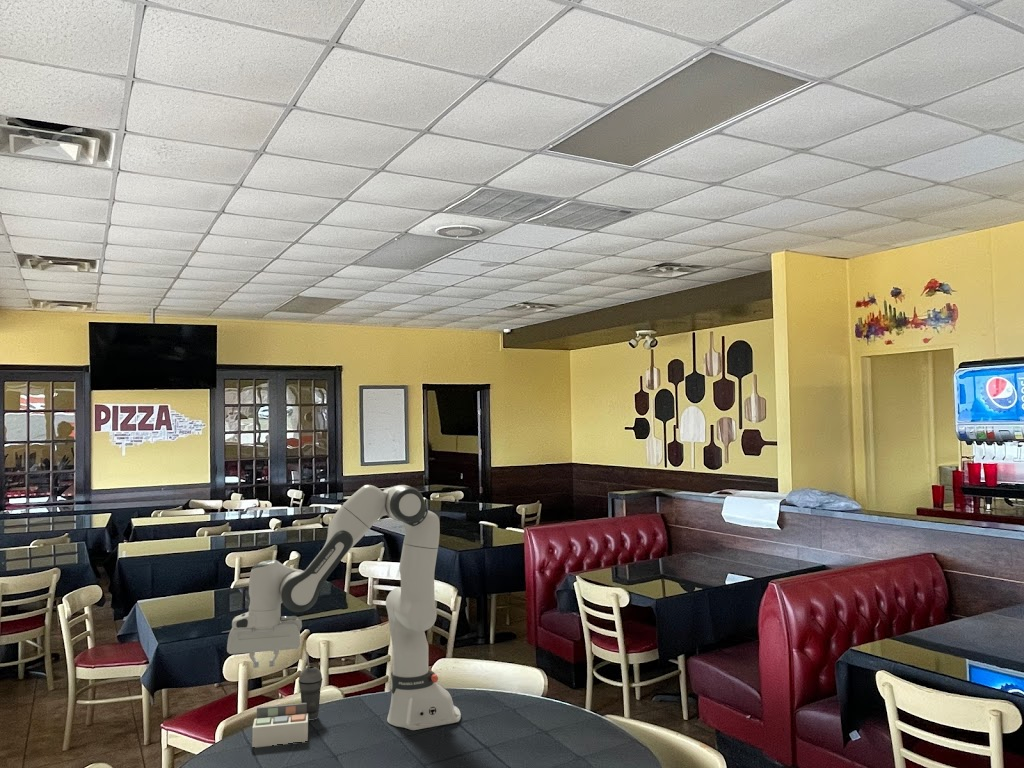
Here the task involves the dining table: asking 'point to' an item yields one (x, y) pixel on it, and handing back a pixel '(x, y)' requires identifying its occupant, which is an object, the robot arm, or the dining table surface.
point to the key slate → (281, 719)
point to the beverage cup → (310, 689)
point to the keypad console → (280, 726)
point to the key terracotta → (298, 718)
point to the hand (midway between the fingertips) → (264, 666)
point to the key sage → (263, 721)
